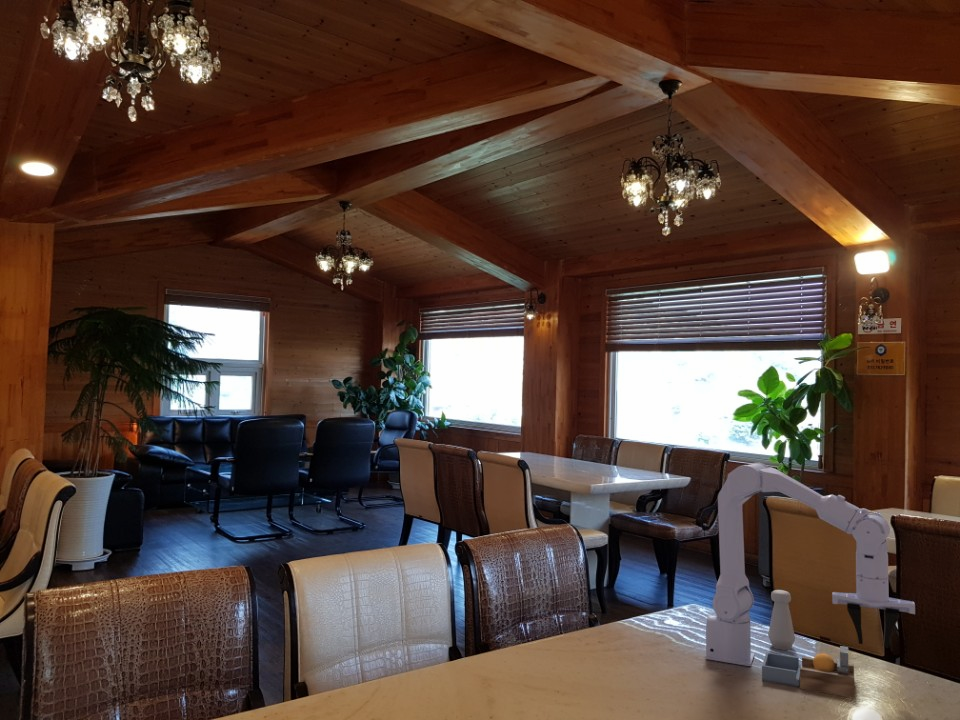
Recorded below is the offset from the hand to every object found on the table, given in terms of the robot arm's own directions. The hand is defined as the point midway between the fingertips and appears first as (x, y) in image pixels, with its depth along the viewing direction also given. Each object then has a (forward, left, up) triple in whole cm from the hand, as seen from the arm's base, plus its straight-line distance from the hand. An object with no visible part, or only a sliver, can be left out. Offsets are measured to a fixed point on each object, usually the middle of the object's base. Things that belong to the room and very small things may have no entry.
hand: (873, 644), depth 144 cm
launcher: (-8, 0, -9) cm, 13 cm away
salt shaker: (-19, +19, -10) cm, 28 cm away
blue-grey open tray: (-17, 0, -9) cm, 19 cm away
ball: (-9, 0, -5) cm, 10 cm away
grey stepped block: (-5, 0, -7) cm, 9 cm away
